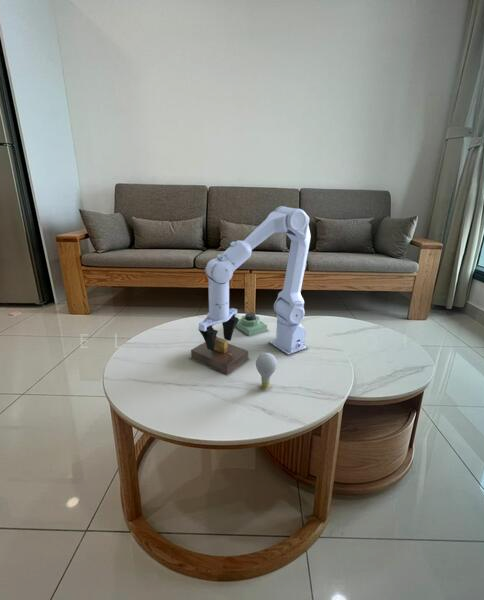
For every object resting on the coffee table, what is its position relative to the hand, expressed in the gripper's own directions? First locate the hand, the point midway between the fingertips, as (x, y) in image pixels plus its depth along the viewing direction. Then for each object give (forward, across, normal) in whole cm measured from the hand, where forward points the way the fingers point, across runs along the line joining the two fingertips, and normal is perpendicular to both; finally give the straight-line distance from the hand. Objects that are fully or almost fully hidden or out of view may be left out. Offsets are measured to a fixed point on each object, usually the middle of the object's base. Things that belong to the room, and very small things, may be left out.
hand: (219, 344), depth 95 cm
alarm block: (+5, -23, -5) cm, 24 cm away
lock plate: (+5, 0, 0) cm, 5 cm away
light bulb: (+5, +4, +19) cm, 20 cm away
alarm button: (+1, -23, -5) cm, 24 cm away
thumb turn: (+2, 0, 0) cm, 2 cm away
